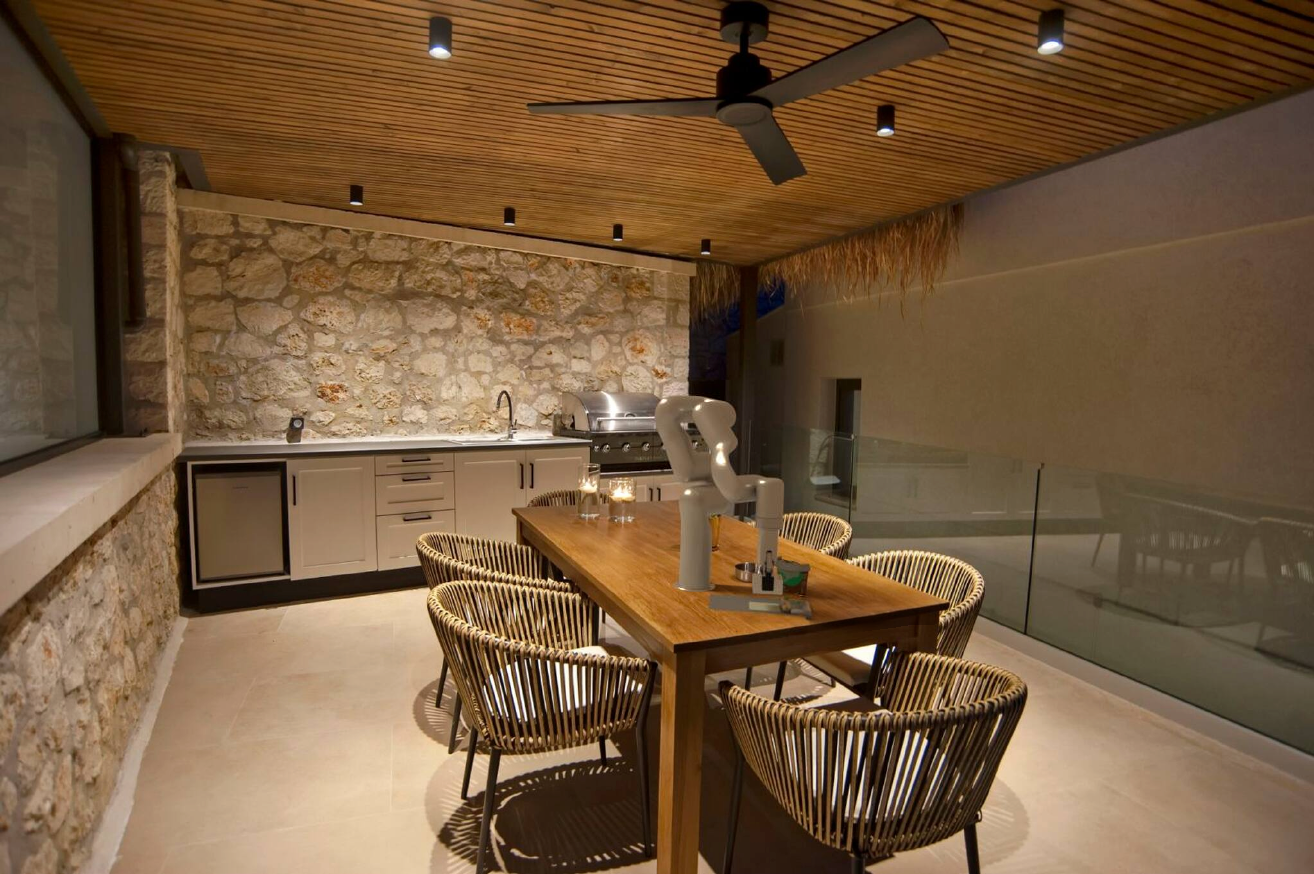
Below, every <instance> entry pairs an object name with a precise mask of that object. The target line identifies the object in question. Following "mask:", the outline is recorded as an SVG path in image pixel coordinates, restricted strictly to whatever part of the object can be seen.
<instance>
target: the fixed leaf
mask: <svg viewBox="0 0 1314 874" xmlns="http://www.w3.org/2000/svg"><path fill="white" fill-rule="evenodd" d="M780 599H781V600H780V601H781V605H782V610H783V612H784V613H790V612H791V614H804V615H811V613H812V609H811V607H810V606H811V605H810V603H809V602H808V601H807V602H803V601H804V600H802V601H789V600H790V598H789V597H788V596H786V595H782V596H781V597H780Z"/></svg>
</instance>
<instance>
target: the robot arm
mask: <svg viewBox="0 0 1314 874" xmlns="http://www.w3.org/2000/svg"><path fill="white" fill-rule="evenodd" d="M736 420H737V413H736V410H735V408H734V406H732V404H730V403H729V402H727V401H724V400H718V399H714V398H709V397H705V396H701V395H700V396H697V395H676V394H675V395H669V396H666V397H664V398H662V399H661V400H660V401H659V402H658V403H657V405H656V408H655V411H654V423H655V424H654V425H655V427H656V430H657V432H658V435H659V437H660V439H661V442H662V444H663V445H664V448H665V452H666V455H667V458H668V461H669V464H670V467H671V471H672V473H673V475H674V477H675V479H676V481H678V483H681V484H685V485H686V484H696V485H691V486H689V487H687V488H685V489H684V490H683V491H682V492H681V493H680V495H679V498H678V508H679V514H680V546H679V547H680V549H679V550H680V551H679V552H680V553H679V572H678V573H679V575H678V580H676V581H675V582H673V587H675V588H676V589H678V590H682V591H686V592H695V593H702V592H709V591H712V590H714V589H715V588H716V585H715V584H714V583H713V582H711V577H712V576H711V571H712V551H713V549H712V547H713V545H712V544H713V528H712V525H711V523H710V520H709V517H710V516H716V515H721V514H724V513H726V512H727V511H728V510H729V509H730V507H731V503H732V504H741V503H742V504H743V503H748V502H749V503H750V502H755V516H754V517H755V520H754V521H755V522H754V528H755V529H757V530H758V533H757V535H758V536H757V554H756V555H757V559H756V560H757V564H758V566H761V569H760V574H763V576H762V591H774V574H775V573H774V571H775V570H774V569H775V567H776V566H775V565H776V561H777V557H778V549H779V548H778V547H779V531H781V530H784V502H785V501H784V500H785V498H784V497H785V484H784V481H783V480H782V479H780V478H778V477H765V476H762V475H759V474H744V475H743V474H742V475H737V473H736V471H734V469H733V467H732V465H731V463H730V458H729V455H730V454H731V453H732V452H733V451H734V450H735V449H736V448H737V447H738V445H739V444H738V443H739V442H738V441H739V440H738V438H737V437H736V435H735V433H734V431H733V430H732V427H734V425H735V424H736ZM681 424H695V426H696V428H697V430H698V432H699V433H700V435H701V437H702V438H703V440H704V442H705V444H706V447H707V448H708V449H709V451H710V452H707V451H697V450H696V449H695V447H694V444H693V441H692V439H691V436H690V434H689V433H688V432H687V431H686V429H684V428H683V426H682V425H681ZM697 484H699V485H697Z"/></svg>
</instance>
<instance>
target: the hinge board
mask: <svg viewBox="0 0 1314 874" xmlns="http://www.w3.org/2000/svg"><path fill="white" fill-rule="evenodd" d="M780 600H781V598H772V597H758V596H757V597H756V596H755V597H753V596H743V595H742V596H741V595H740V596H739V595H726V594H725V595H724V594H711V593H710V594H709V602H708V608H707V609H708V610H714V611H716V610H717V611H718V610H719V611H728V612H745V613H756V614H757V613H758V614H759V613H760V614H770V615H771V614H772V615H784V616H786V615H787V616H798V617H799V616H801V617H802V616H803V617H805V620H808V621H809V620H810V621H812V620H813V614H812V612H811V615H804V614H791V612H790V613H784V612H783V610H782V605H781V601H780ZM789 601H803V602H808V600H799V599H789Z"/></svg>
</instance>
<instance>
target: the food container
mask: <svg viewBox="0 0 1314 874" xmlns="http://www.w3.org/2000/svg"><path fill="white" fill-rule="evenodd" d="M774 567H776V575H777V574H781V575H782V579H783V592H784V593H789V594H797V596H798V597H800V596H799V595H805V596H807V595H806V594H807V585H808V578H809V572H810V571H811V566H810V563H805V564H804V563H802V564H801V563H799V562H797V561H794V560H788V559H784V558H783V557H782V555H779V556H777V561H776V565H775V566H774Z"/></svg>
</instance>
